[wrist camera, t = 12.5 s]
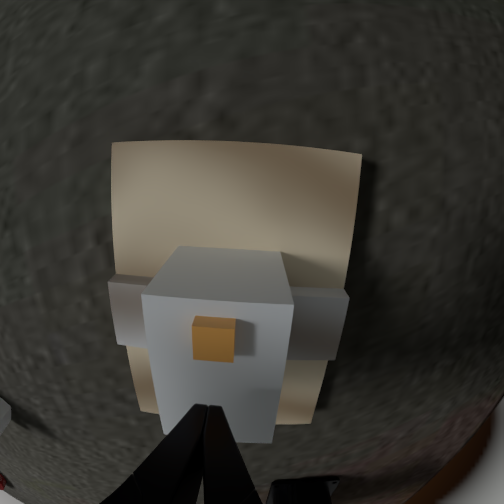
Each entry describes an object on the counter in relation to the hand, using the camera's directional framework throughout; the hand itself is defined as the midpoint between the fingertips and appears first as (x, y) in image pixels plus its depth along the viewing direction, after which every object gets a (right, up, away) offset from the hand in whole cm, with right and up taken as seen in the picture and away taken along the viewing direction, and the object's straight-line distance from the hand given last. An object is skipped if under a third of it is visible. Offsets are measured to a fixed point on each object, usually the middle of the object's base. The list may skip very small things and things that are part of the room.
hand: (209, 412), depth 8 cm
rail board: (0, +2, +7) cm, 8 cm away
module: (0, +2, +6) cm, 6 cm away
